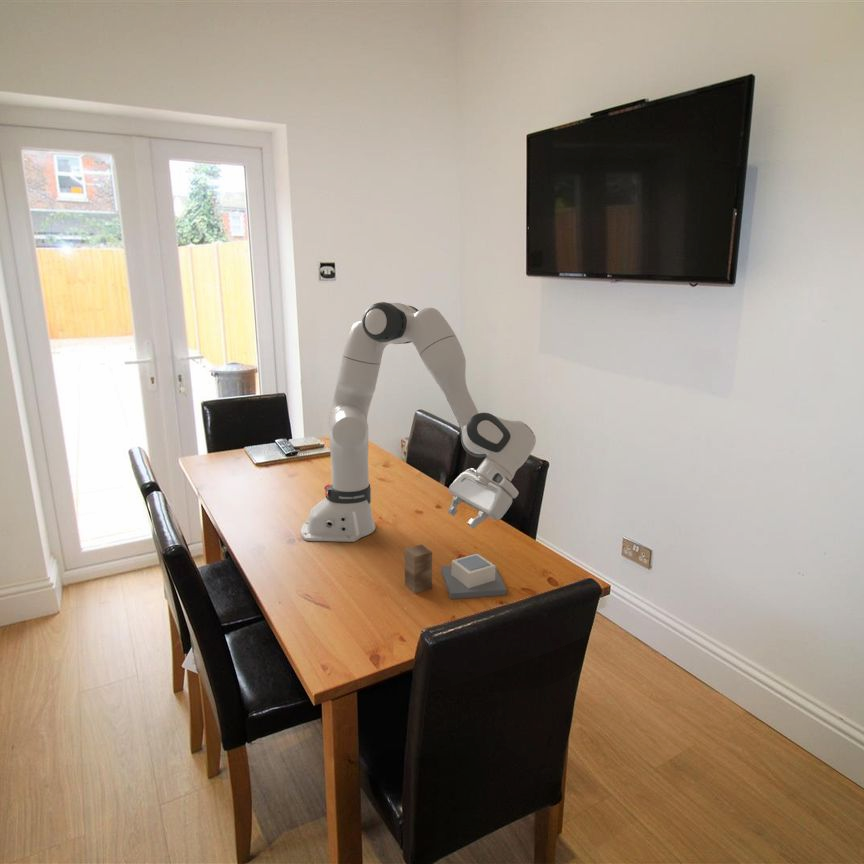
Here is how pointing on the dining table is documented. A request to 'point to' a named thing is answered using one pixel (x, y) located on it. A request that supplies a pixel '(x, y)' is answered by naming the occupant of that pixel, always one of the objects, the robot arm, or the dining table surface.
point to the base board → (473, 591)
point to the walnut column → (418, 568)
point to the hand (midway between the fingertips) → (460, 520)
